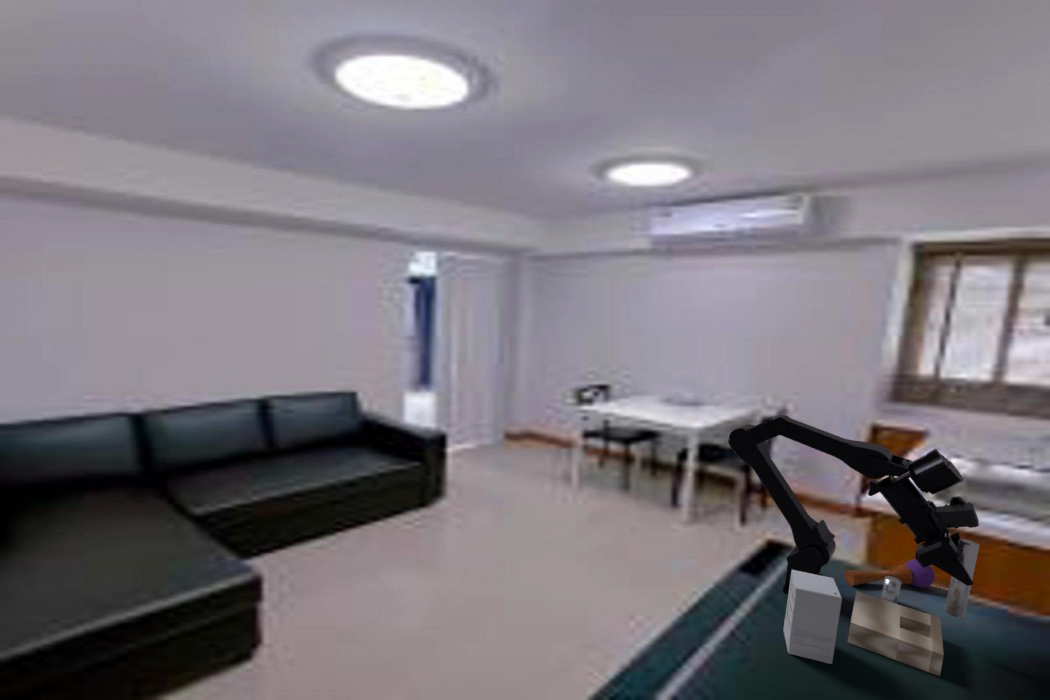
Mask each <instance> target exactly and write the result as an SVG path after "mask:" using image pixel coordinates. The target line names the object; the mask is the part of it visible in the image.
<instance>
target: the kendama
mask: <svg viewBox="0 0 1050 700" xmlns="http://www.w3.org/2000/svg"><path fill="white" fill-rule="evenodd" d="M885 576H891V577H895V578H897V579H899V580H900V581H901V583H903V584H905V585H911V586H914V587H916V588H920V589H922V588H925V589H926V588H928V587H929V586H931V585H932V584H933V583H934V582H935V579H936V578H935V577H936V574H935V571H934V569H933V568H932V567H931V565H930V566H927V567H922V566H921V565H920V564H919V563H918V561H917V560H916V559H910V560H909V561H906V562H905V563H904V564H900V565H898V566H897V567H896V568H895V569H893V570H892V571H891V572H883V571H869V570H867V571H865V570H850V569H849V570H847V569H846V570H845V571H844V574H843V577H844V580H845V583H847V584H848V585H849V586H850V587H853V586H860V585H864V584H870V583H872V582H873V583H874V582H879V581H884V578H885Z"/></svg>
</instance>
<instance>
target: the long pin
mask: <svg viewBox="0 0 1050 700" xmlns="http://www.w3.org/2000/svg"><path fill="white" fill-rule="evenodd" d="M958 544H959V545H960V546H959V553H958V557H959V558H960V560H961V562H962V564H963V565H964V567H965V569H966V570H967V572H968V574H969V576H970V577H971V579H972V580H974V579H973V578H974V572H975V568H976V563H977V560H978V555H979V549H980V544H979V543H978V542H974V541H973V540H971V539H965V538H960V539H959V542H958ZM950 576H951V575H950ZM971 588H972V585H970V586H967V585H965V584H964V583H962V582H960V581H959V580H957V579H956V578H954V577H952V576H951V577H950V582H949V586H948V590H947V596H946V601H945V606H944V611H945V613H947V614H948V615H950V616H952V617H954V618H959V619H964V618H965V616H966V611H967V606H968V602H969V598H970V593H971V592H970V591H971Z"/></svg>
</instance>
